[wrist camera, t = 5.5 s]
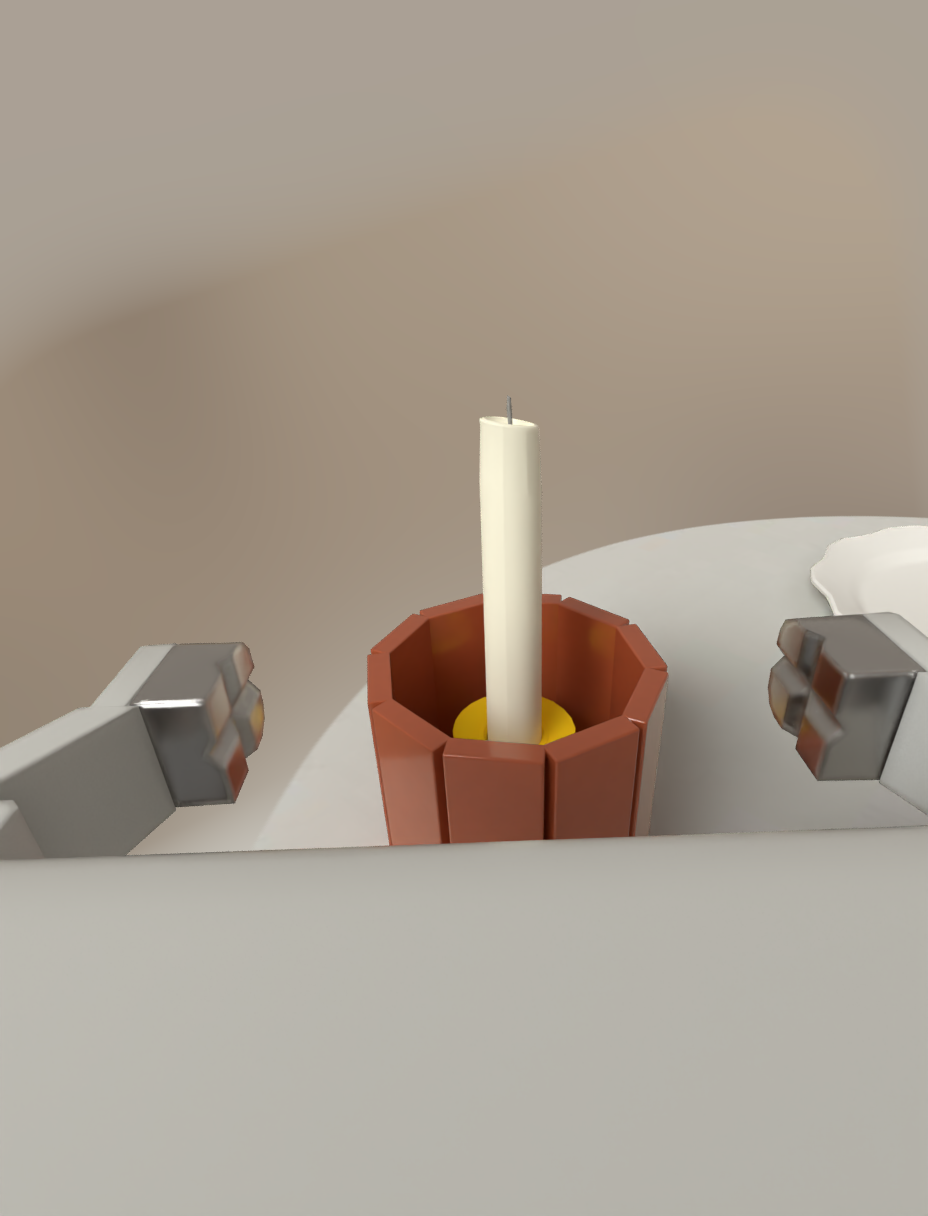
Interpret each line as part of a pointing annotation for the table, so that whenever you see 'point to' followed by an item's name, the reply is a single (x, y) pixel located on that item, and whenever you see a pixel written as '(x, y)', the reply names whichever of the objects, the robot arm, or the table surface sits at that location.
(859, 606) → the plate
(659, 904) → the robot arm
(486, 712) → the candle
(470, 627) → the holder cup
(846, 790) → the table surface
